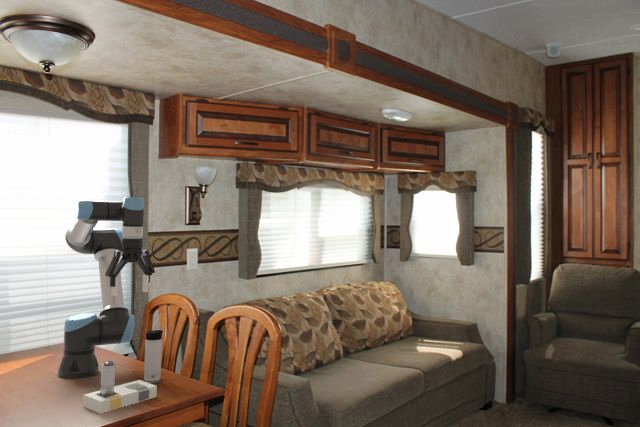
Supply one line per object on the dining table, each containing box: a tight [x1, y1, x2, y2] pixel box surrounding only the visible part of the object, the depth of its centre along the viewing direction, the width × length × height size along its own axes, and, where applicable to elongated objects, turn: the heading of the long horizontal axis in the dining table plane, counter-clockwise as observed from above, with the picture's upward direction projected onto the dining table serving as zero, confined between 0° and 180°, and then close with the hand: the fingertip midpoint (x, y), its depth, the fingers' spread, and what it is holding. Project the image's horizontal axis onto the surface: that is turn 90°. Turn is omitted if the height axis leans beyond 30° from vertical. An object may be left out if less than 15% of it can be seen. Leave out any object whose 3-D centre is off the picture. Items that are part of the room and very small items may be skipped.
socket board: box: [83, 379, 158, 415], centre depth 191 cm, size 10×22×4 cm, turn 145°
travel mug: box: [143, 329, 164, 385], centre depth 214 cm, size 6×7×20 cm
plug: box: [99, 360, 116, 398], centre depth 186 cm, size 4×4×15 cm
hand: (130, 293), depth 209 cm, fingers open, 13 cm apart
